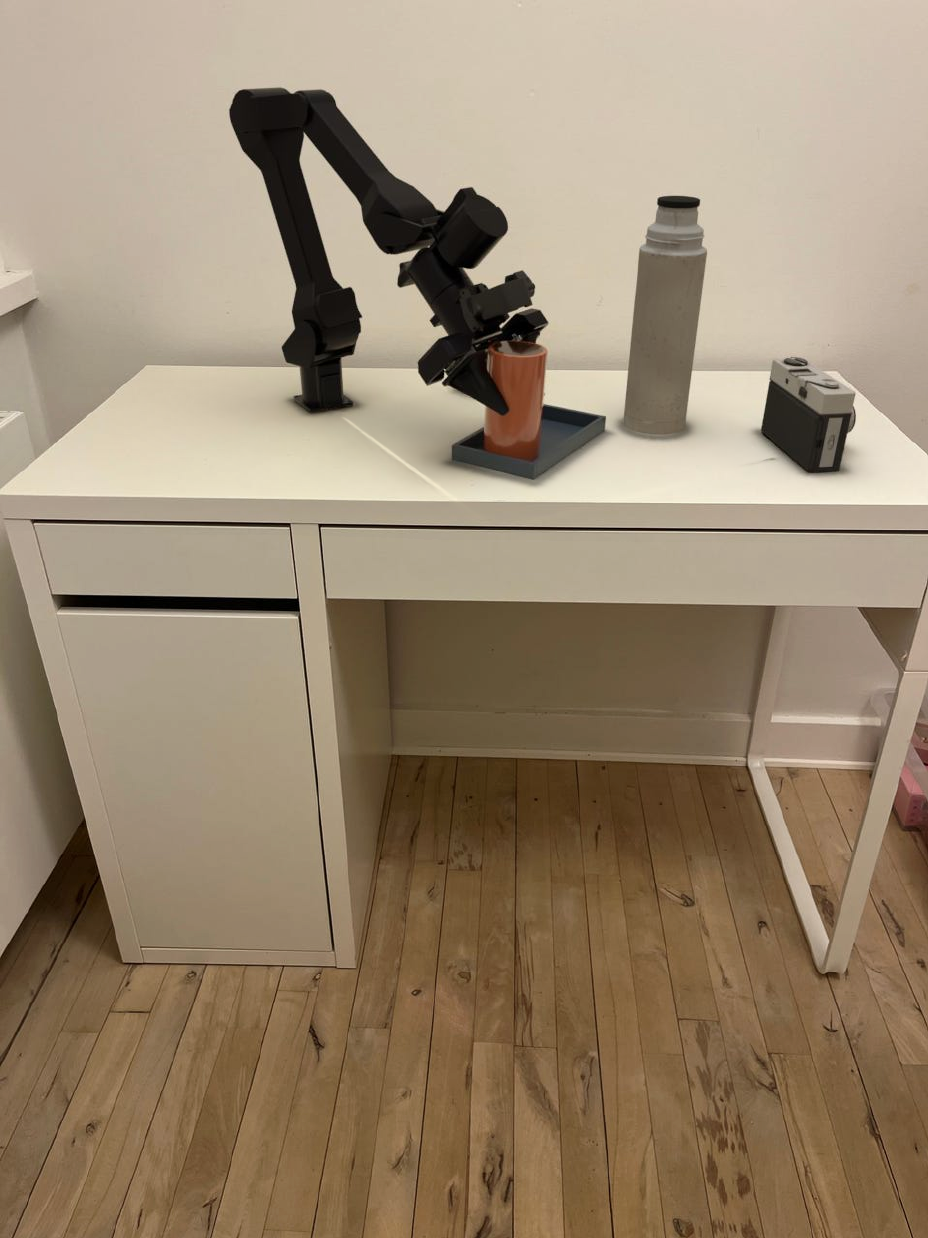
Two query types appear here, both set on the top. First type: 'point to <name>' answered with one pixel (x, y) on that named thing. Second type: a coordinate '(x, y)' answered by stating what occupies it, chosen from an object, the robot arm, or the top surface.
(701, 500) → the top surface
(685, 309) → the thermos bottle
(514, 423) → the tumbler
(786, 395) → the camera
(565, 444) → the tray
